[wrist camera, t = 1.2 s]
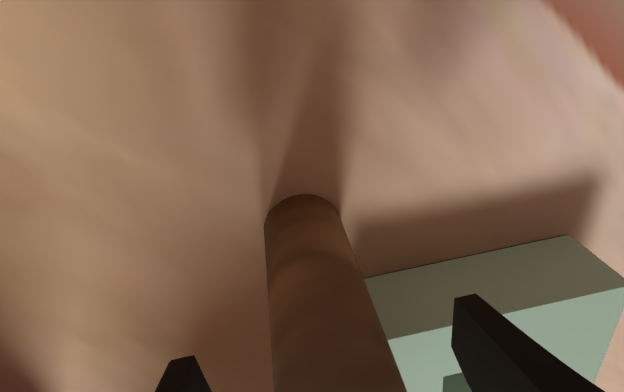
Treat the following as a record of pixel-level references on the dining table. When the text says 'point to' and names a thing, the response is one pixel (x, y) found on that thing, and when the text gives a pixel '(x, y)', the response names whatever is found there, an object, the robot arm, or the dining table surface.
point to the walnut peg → (321, 306)
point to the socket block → (501, 307)
